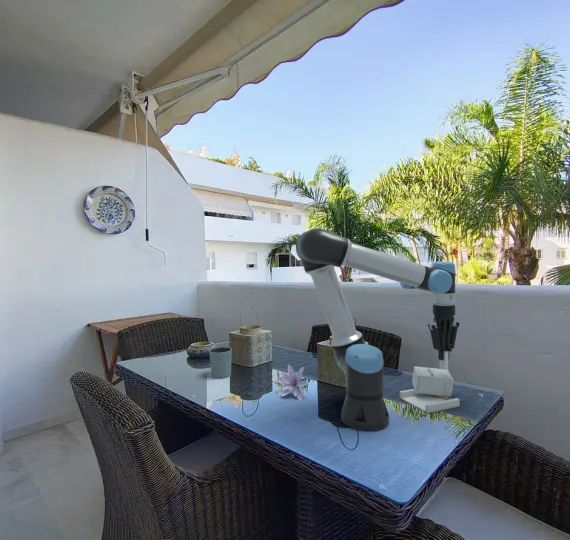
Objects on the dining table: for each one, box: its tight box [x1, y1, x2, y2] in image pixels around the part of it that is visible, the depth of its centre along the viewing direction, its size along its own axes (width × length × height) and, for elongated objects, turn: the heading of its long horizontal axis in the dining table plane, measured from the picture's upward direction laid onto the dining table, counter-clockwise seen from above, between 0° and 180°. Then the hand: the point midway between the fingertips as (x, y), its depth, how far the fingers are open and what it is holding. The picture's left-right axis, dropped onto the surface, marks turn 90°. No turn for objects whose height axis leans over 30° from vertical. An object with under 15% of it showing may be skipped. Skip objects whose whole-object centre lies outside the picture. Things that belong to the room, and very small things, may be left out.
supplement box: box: [411, 365, 455, 398], centre depth 137 cm, size 7×7×13 cm
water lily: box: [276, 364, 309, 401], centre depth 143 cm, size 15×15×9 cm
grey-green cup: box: [208, 346, 233, 380], centre depth 165 cm, size 10×10×12 cm
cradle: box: [399, 388, 461, 414], centre depth 132 cm, size 14×14×2 cm
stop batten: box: [436, 395, 452, 400], centre depth 135 cm, size 1×12×1 cm, turn 21°
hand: (443, 368), depth 134 cm, fingers closed
